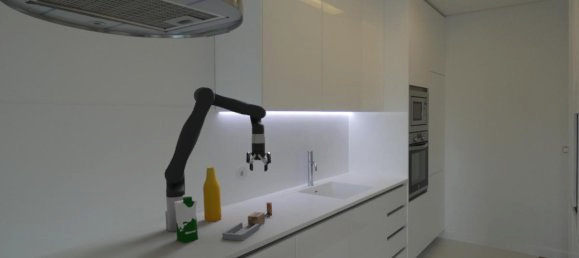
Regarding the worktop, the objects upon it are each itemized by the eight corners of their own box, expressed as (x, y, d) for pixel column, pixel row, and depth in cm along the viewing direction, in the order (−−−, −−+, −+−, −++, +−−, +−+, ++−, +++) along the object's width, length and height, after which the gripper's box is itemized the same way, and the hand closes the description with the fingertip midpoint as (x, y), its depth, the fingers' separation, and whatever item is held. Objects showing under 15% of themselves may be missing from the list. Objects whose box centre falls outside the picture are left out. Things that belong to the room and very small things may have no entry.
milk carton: (183, 244, 159) (181, 200, 159) (173, 239, 166) (171, 197, 165) (200, 239, 166) (198, 196, 165) (191, 235, 172) (188, 193, 171)
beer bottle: (212, 216, 203) (210, 165, 202) (225, 218, 198) (222, 166, 197) (200, 221, 195) (198, 168, 194) (213, 222, 190) (211, 168, 189)
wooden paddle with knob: (248, 225, 183) (247, 212, 183) (265, 213, 205) (265, 202, 204) (258, 226, 181) (258, 213, 181) (275, 214, 203) (274, 202, 202)
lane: (222, 238, 165) (222, 233, 165) (240, 227, 181) (240, 222, 181) (242, 240, 161) (242, 235, 161) (258, 228, 177) (258, 223, 177)
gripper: (243, 142, 198) (244, 171, 199) (267, 142, 193) (267, 172, 194) (249, 141, 205) (250, 169, 206) (272, 141, 200) (273, 170, 201)
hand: (258, 171), depth 200 cm, fingers open, 8 cm apart
